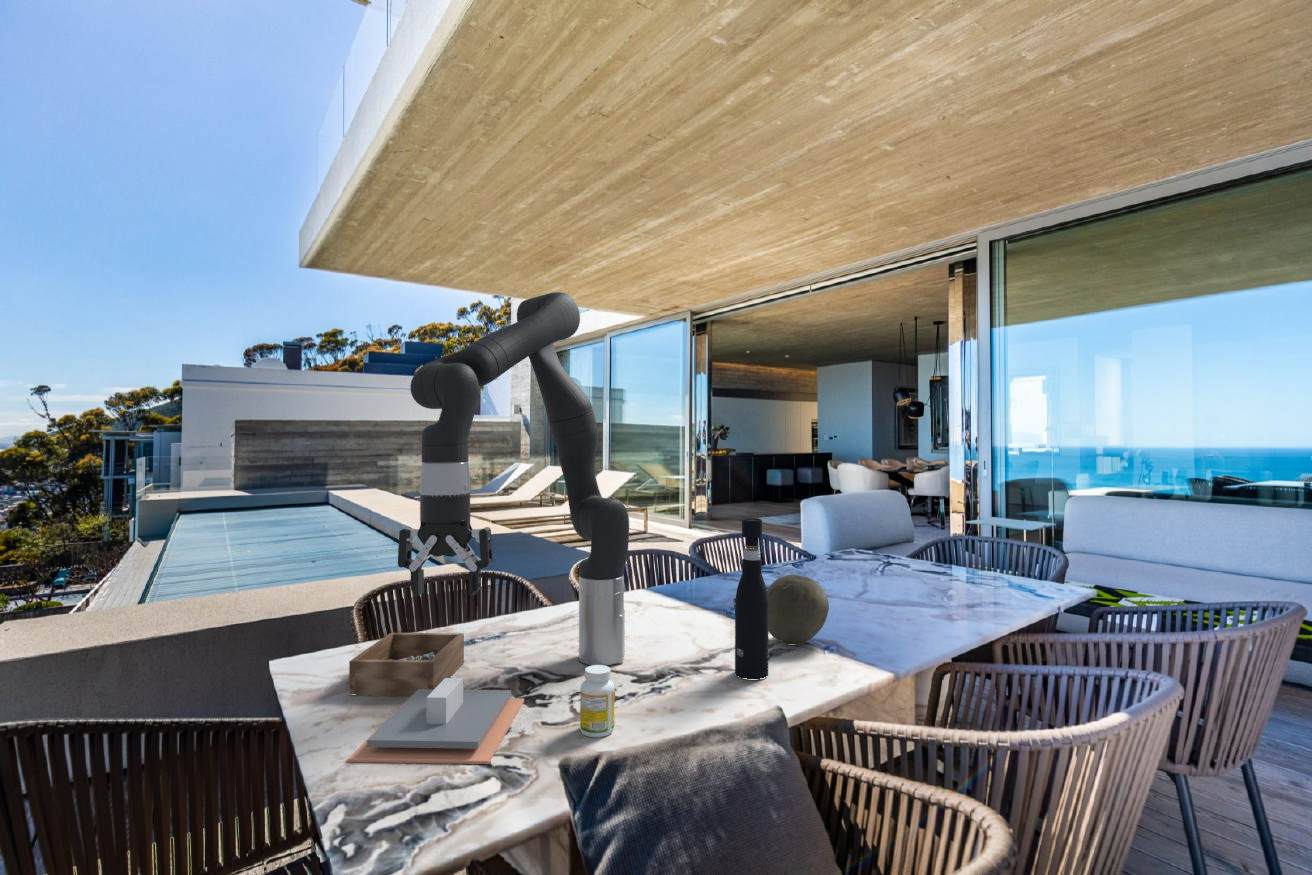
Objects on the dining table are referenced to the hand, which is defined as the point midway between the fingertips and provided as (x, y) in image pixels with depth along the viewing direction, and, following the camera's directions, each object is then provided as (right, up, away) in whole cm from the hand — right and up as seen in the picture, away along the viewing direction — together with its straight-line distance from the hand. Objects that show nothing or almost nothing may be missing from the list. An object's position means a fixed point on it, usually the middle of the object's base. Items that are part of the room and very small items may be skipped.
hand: (445, 594), depth 103 cm
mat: (0, -21, 0) cm, 21 cm away
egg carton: (-14, -22, +21) cm, 33 cm away
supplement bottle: (+24, -21, -1) cm, 32 cm away
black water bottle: (+51, -21, +24) cm, 61 cm away
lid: (0, -20, 0) cm, 20 cm away
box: (-14, -21, +21) cm, 33 cm away
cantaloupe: (+64, -22, +43) cm, 80 cm away
